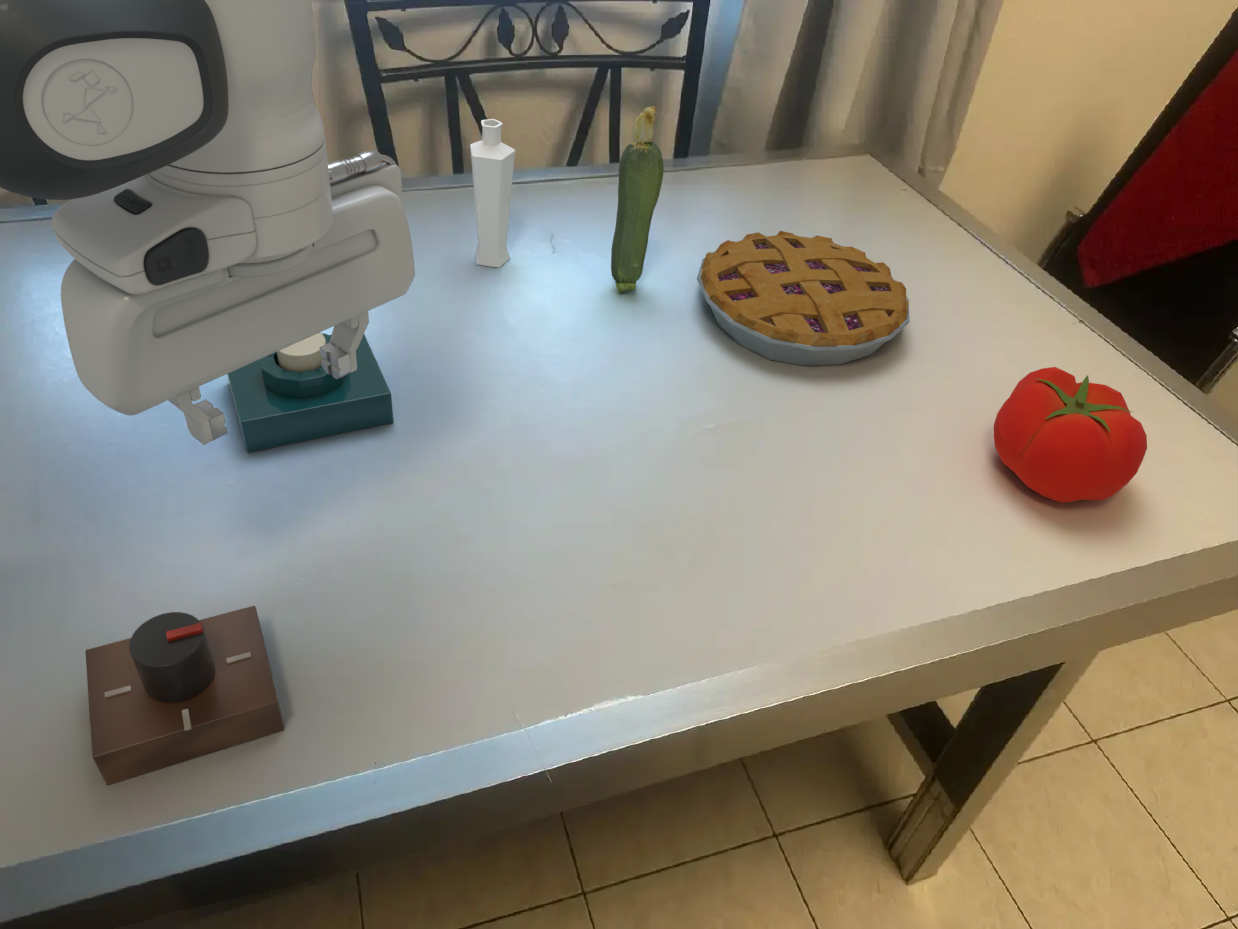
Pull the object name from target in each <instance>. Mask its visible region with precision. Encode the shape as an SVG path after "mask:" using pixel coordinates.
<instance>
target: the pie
mask: <svg viewBox="0 0 1238 929" xmlns="http://www.w3.org/2000/svg"><path fill="white" fill-rule="evenodd" d="M696 281H697V283H698V286H699V287H700V290H701V292H702V295H703V296H704V299H705V301H706V303H707V304H708V305H709V307H710V309H711V312H712V314H713V316H714V319H715V320H716V323H717V325H718V327H720V328H721V329H722V330H723V331H724V332H725V333H726V334H727V335H729V336H730V337H731V338H732V339H733V340H734V341H735V342H736V343H737V344H739V345H740V346H741V347H743V348H745V349H747V350H749V351H751V352H752V353H754V354H757V355H759V356H761V357H762V358H765V359H766V360H769V361H775V362H781V363H787V364H792V365H797V366H826V365H827V366H830V365H831V366H833V365H842V364H846V363H849V362H853V361H856V360H859V359H862V358H863V359H864V358H865V357H869V356H871V355H872V354H873V353H875V352H876V351H877V350H879V349H880V348H881V346H883V345H884V344H885V343H886V342H888V341H890V340H893V339H894V337H896V335H898V334H899V333H900V332H901V331H902V330H903V329H904V328H906V327H907V326H908V325H909V324H910V321H911V320H910V300H909V298H908V296H907V288H906V286H905V285H904V283H903V282H902V281H898V280H895V279H894V278H893V276H892V273H891V268H890V267H889V266H888V265H887V264H886V263H885V262H882V261H881V262H874V261H873V260H871V259H870V258H868V257H867V254H866V252H864V251H862V250H861V249H858V248H856V247H853V246H843V245H840V244H837V243H835V242H834V241H833V239H832V238H831V237H827V236H823V235H818V234H817V235H815V236H811V237H809V236H799V235H797V234H794V232H788V231H783V230H779V231H778V233H777V234H775V235H764V234H762V233H760V232H758V231H757V232H753V233H749V234H746V235H745V236H744V237H743V239H742V240H738V241H734V240H729V239H727V240H725V241H724V242H721V243H720V244H719V246H718V247H717V248H716V250H714V251H713V252H711V251H710V252H706V254H705V257H703V258H702V260H701V263H700V267H699V270H698V272H697V276H696Z"/></svg>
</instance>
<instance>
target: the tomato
mask: <svg viewBox="0 0 1238 929" xmlns="http://www.w3.org/2000/svg"><path fill="white" fill-rule="evenodd" d="M1131 413H1133V411H1131V410H1129V407H1128V404H1127V402H1126V400H1125V398H1124V396H1123V394H1122V392H1120V391H1118V390H1116V389H1115V388H1112V387H1111V386H1109V385H1107V384H1103V383H1096V382H1090V380H1089V375H1088V374H1087V375H1085V378H1083V379H1082V381H1080V382H1077V381H1076V377H1075V375H1073V374H1071V373H1069V372H1067V371H1065V370H1063V369H1062V368H1059V367H1056V366H1051V367H1043V368H1040V369H1036V370H1034V371H1031V372H1028V374H1026V375H1025V376H1024V377H1022V378H1021V379H1020V380H1019V381H1018V382H1017V384H1016V386H1015V387H1014V388H1013V390H1012V391H1011V393H1010V395H1009V397H1008V398H1007V399H1006V400H1005V401H1004V403H1003V404H1002V405H1001V407H1000V408H999V410H998V412H997V413H996V416H995V420H994V423H993V441H994V448H995V450H996V453H997V454H998V456H999V459H1000V461H1002V464H1003V465H1005V466H1006V467H1007V468H1008V469H1010V470H1011V471H1012V472H1013V473H1014V474H1015V475H1016V476H1017V477H1018V478H1019V480H1021V481H1022V483H1023V484H1024V485H1025V486H1026V487H1027V488H1029V489H1031V490H1032V491H1034V492H1036V493H1037V494H1039V495H1040V496H1042V497H1044V498H1046V499H1047V498H1048V499H1050V500H1052V501H1055V502H1058V503H1060V504H1061V503H1070V502H1077V501H1083V500H1087V501H1104V500H1106V499H1108V498H1110V497H1112V496H1115V494H1117V493H1118V492H1119V491H1120V490H1122V489H1124V488H1125V486H1127V485H1128V484H1129V483H1130V481H1131V480H1132V479H1133V478H1134V477H1135V476H1136V475H1137V474H1138V471H1139V469H1140V467H1141V466H1142V463H1143V461H1144V459H1145V455H1146V453H1147V450H1148V437H1147V436H1148V435H1147V433H1146V431H1145V429H1144V426H1143V424H1142V422H1140V421H1139V420H1138V419H1136V418H1135V417H1134V416H1132V414H1131Z"/></svg>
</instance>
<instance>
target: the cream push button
mask: <svg viewBox="0 0 1238 929" xmlns="http://www.w3.org/2000/svg"><path fill="white" fill-rule="evenodd" d="M321 333H322V332H320V333H317V334H315V335H313V336H311V337H309V338H306V339H304V340H302V341H300V342H297V343H295V344H293V345H291V346H288V347H286V348H284V349H282V350H279V351H277V358H278V363H279V364H280V366H281V367H282V368H284V369H286V370H289V371H297V372H302V371H308V370H313V369H317V368H319V367H320V366H322V364H321V361H322V358H323V357H321V356H320V347H321V346H323V345H325V344H326V339H325V337H324V336H323V334H321Z"/></svg>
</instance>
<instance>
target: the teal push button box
mask: <svg viewBox="0 0 1238 929" xmlns="http://www.w3.org/2000/svg"><path fill="white" fill-rule="evenodd" d="M320 333H321V334H323V336H324V337H325V339H326V344H327V343H329V342H330V338H331V335H332V334H328V333H323V332H320ZM356 360H357V370H356V371H354V372H352V373H350V374H347V375H345V376H343V377H341V378H339V379H335V378H334V377H333V375H331V374H328V373H326V372H325V371H324V369H323V367H322V366H320V367H319V368H317V369H313V370H308V371H302V372H297V371H289V370H286V369H284V368H282V367H281V366H280V364H279V363H278V358H277V352H275V353H273V354H270V355H268V356H266V357H264V358H262V359H259V360H257V361H255V362H253V363H250V364H248V365H246V366H244V367H241V368H239V369H237V370H235V371H232V372H230V373H228V374H226V377H227V381H228V385H229V389H230V393H231V396H232V400H233V404H234V407H235V412H236V415H237V419H238V423H239V426H240V430H241V434H242V438H243V441H244V446H245V449H246V452H247V453H251V452H256V451H261V450H266V449H271V448H275V447H276V448H277V447H280V446H285V445H290V444H295V443H301V442H306V441H310V440H314V439H315V440H316V439H319V438H325V437H329V436H333V435H334V436H335V435H339V434H344V433H349V432H353V431H358V430H359V431H360V430H363V429H369V428H372V427H377V426H382V425H383V426H384V425H388V424H392V423H395V422H394V411H393V400H392V392H391V390H390V387H389V386H388V384H387V383H388V382H387V381H386V379H385V376H384V374H383V372H382V370H381V368H380V366H379V364H378V361H377V360H376V356H375V355H374V353H373V350H372V348H371V346H370V343H369V342H368V339H367V337H366V335H365V334H364V335H363V337H362V339H361V342H360V344H359V346H358V348H357V349H356Z"/></svg>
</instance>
